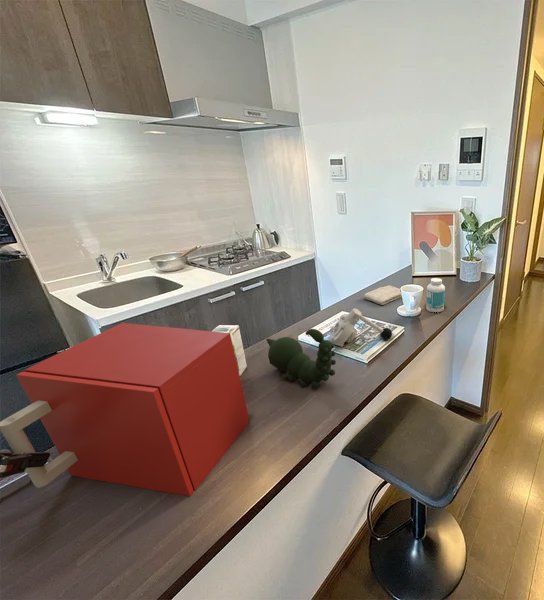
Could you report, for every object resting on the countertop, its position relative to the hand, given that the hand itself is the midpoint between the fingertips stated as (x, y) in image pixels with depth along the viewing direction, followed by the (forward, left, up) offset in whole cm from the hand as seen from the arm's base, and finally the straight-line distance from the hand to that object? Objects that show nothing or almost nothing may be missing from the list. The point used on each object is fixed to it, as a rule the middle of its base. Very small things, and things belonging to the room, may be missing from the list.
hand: (39, 458), depth 56 cm
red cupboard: (+5, +17, -10) cm, 20 cm away
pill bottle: (+27, +112, -10) cm, 115 cm away
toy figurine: (+12, +49, -10) cm, 51 cm away
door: (+9, +5, -10) cm, 14 cm away
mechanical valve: (+15, +75, -10) cm, 77 cm away
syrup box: (-7, +41, -10) cm, 43 cm away
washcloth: (+2, +113, -10) cm, 113 cm away
